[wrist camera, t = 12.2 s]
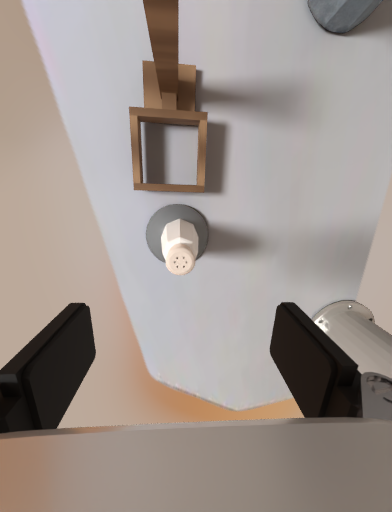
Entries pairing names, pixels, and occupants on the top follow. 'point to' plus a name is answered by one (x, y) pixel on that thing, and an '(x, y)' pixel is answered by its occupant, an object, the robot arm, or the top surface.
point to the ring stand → (166, 93)
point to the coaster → (169, 215)
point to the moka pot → (341, 13)
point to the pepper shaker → (179, 246)
